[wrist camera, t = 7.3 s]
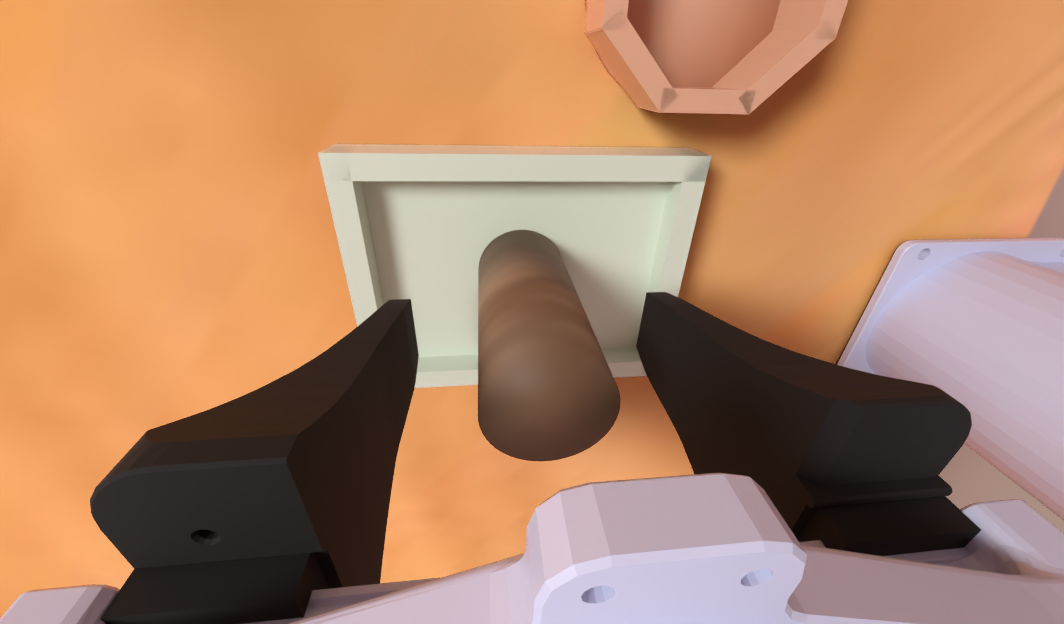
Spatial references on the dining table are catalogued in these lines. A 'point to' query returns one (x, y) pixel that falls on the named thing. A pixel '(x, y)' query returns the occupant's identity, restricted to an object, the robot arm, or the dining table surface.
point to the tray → (496, 208)
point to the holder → (708, 48)
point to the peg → (538, 354)
